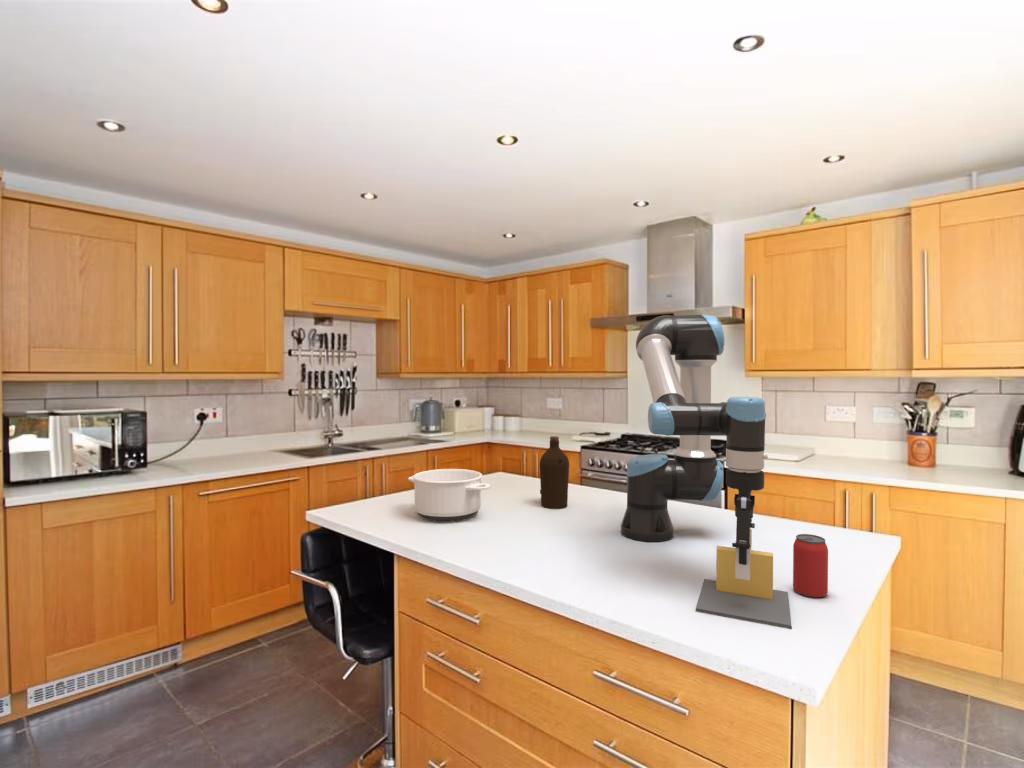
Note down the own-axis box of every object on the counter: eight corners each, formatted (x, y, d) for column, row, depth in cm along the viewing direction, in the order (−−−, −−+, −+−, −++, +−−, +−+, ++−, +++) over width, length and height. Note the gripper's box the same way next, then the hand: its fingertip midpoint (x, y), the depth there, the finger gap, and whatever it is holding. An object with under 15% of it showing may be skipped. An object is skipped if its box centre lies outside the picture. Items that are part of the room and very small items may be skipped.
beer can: (786, 587, 118) (787, 533, 118) (814, 585, 119) (815, 532, 118) (805, 599, 111) (805, 542, 111) (834, 598, 112) (835, 542, 112)
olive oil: (574, 505, 192) (574, 436, 191) (558, 511, 183) (558, 439, 183) (550, 500, 198) (550, 434, 198) (533, 506, 190) (533, 437, 190)
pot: (507, 514, 180) (507, 474, 179) (466, 531, 160) (466, 486, 160) (433, 501, 197) (433, 465, 197) (387, 515, 178) (387, 475, 177)
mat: (695, 611, 106) (695, 608, 106) (704, 581, 121) (704, 578, 121) (791, 628, 99) (791, 625, 99) (787, 594, 114) (787, 591, 114)
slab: (716, 590, 115) (716, 548, 115) (717, 586, 117) (717, 545, 117) (772, 599, 110) (773, 556, 110) (772, 595, 112) (772, 552, 112)
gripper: (764, 482, 100) (762, 592, 101) (764, 461, 123) (763, 551, 123) (721, 478, 103) (720, 585, 104) (729, 458, 126) (728, 547, 127)
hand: (743, 567), depth 114 cm, fingers open, 13 cm apart
